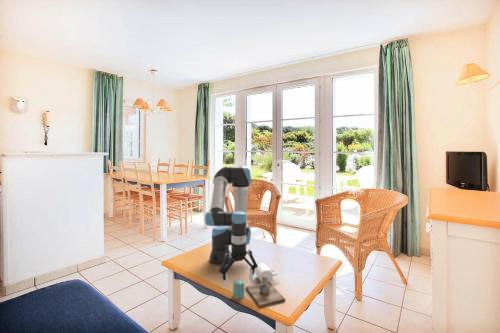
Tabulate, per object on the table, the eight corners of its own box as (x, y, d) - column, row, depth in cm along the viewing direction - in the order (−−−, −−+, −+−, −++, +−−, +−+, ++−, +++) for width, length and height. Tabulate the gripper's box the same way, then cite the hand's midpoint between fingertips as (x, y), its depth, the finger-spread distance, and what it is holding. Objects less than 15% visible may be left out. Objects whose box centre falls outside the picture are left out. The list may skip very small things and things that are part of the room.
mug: (259, 285, 141) (259, 271, 140) (254, 276, 150) (254, 263, 150) (279, 282, 144) (279, 268, 143) (273, 274, 153) (273, 261, 153)
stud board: (245, 288, 137) (246, 271, 136) (269, 283, 142) (269, 267, 142) (259, 307, 120) (259, 287, 120) (285, 301, 125) (285, 282, 125)
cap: (231, 293, 131) (232, 280, 131) (241, 291, 133) (241, 279, 133) (235, 299, 126) (235, 285, 126) (245, 297, 128) (245, 283, 128)
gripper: (216, 248, 120) (216, 291, 121) (264, 241, 130) (263, 282, 130) (213, 243, 127) (213, 284, 128) (258, 237, 137) (257, 276, 137)
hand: (238, 283), depth 129 cm, fingers open, 13 cm apart
